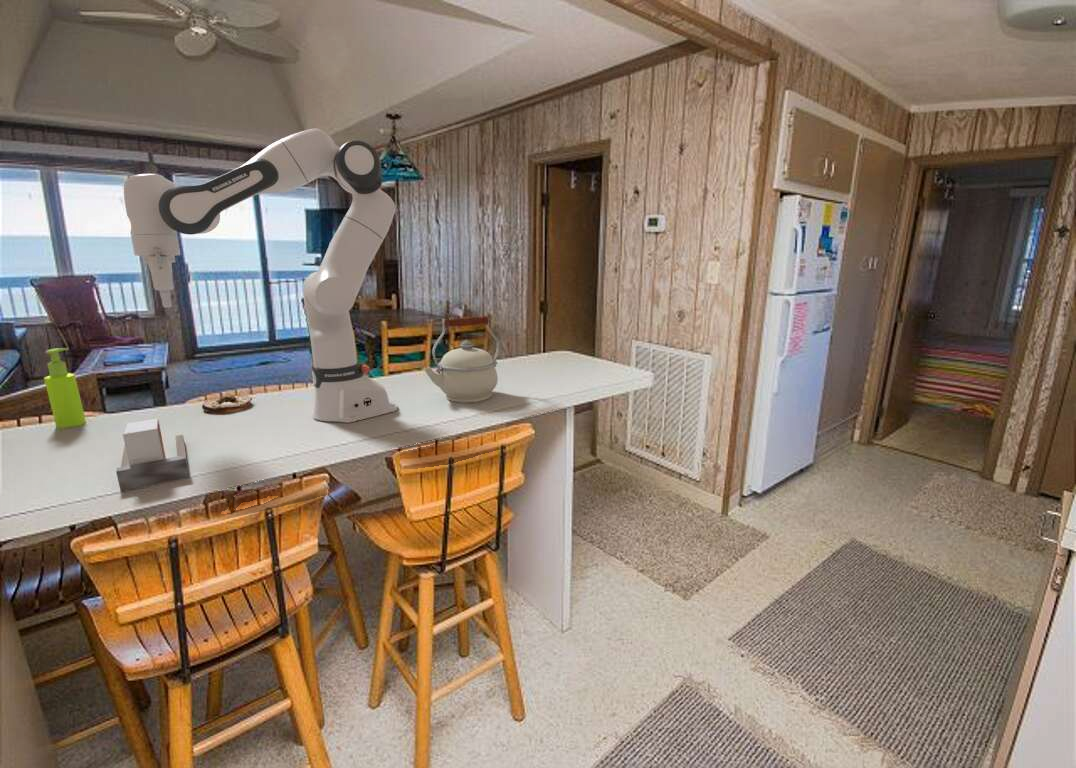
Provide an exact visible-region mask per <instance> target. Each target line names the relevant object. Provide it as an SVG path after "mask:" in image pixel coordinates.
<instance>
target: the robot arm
mask: <svg viewBox="0 0 1076 768" xmlns="http://www.w3.org/2000/svg"><path fill="white" fill-rule="evenodd" d="M324 176H326V177H328V178H329V180H331V181H332V182H333V183H335V184H336V185H337V186H338V187H339V189H341V190H342V191H343V192H344V193H346V194H348V195H349V196H352V201H351V204H350V207H349V209H348V210H347V212H346V214H345V216H344V217H343V219H342V220H341V223H340V224H339V226H338V228H337V230H336V232H335V233H334V235H333V236H332V239H331V240H330V241H329V244H328V247H327V249H326V252H325V254H324V256H323V258H322V261H321V263H320V265H319V267H318V270H317V271H314V272H312V273H310V274H309V275H307V277H306V278H305V280H304V282H303V284H302V295H303V303H304V310H305V315H306V316H305V317H306V320H307V327H308V333H309V337H310V346H311V347H310V348H311V353H312V363H313V365H312V366H311V370H312V371H311V374H312V375H311V376H312V383H313V386H314V387H315V388H314V391H315V392H314V393H315V394H314V395H315V396H314V407H313V413H312V418H313V419H315V420H317V421H321V422H340V423H346V424H347V423H348V424H349V423H354V422H356V421H357V420H358V421H361V420H365V419H369V418H373V417H379V416H381V415H384V414H389V413H394V412H396V411H397V410H398V405H397V403H396V402H395V401H394V400H392V399H390V398H389V397H388V392H387V391H386V388H385V387H384V386H383V384H381V383H379V382H377V381H376V380H374V379H373V378H371V377H370V376H367V375H366V374H368V373H369V372H371V367H370V366H369V365H367V364H363V363H361V362H358V361H357V353H356V351H357V349H356V339H355V332H354V329H353V324H352V320H351V316H350V310H351V309H352V308H353V306H354V304H355V302H356V298H357V296H358V294H359V292H360V289H361V287H362V286H363V282H364V281H365V278H366V275H367V272H368V269H370V268H369V267H370V265H371V264H372V261H373V260H374V258H375V256H376V255H377V253H378V250H379V249H380V247H381V245H382V244H383V242H384V240H385V238H386V236H387V234H388V232H389V231H390V228H391V225H392V223H393V219H394V217H395V213H396V204H395V202H394V200H393V199H392V198H391V196H389V194H388V193H386V192H385V191H383V190H382V189H381V187H382V185H383V182H382V180H383V179H382V178H383V177H382V162H381V159H380V156H379V154H378V152H377V151H376V149H375V148H374V147H373V146H372V145H371V144H369V143H368V142H365V141H362V140H357V139H356V140H349V141H347V142H345V143H343V144H342V145H341V146H338V145H337V144H336V143H335V141H334V140H333V139H332V137H331V136H330V135H329V134H328V133H327V132H326V131H324V130H322V129H320V128H316V127H315V128H310V129H305V130H302V131H299V132H295V133H292V134H289V135H287V136H285V137H283V138H280V139H279V140H277V141H274V142H273V143H271V144H269V145H268V146H266V147H265V148H264V149H262V150H261V151H259V152H258V153H257V154H255V155H254V156H253V157H251V158H250V159H249V160H248V161H246V162H245V163H243V164H242V165H241V166H239V167H237V168H235V169H233V170H231V171H228V172H227V173H224V174H222V175H220V176H217V177H215V178H213V179H211V180H209V181H207V182H205V183H201V184H197V185H179V184H177V183H175V182H173V181H171V180H169V179H167V178H166V177H164V176H163V175H161V174H158V173H140V174H134V175H132V176H131V175H130V176H128V177H127V178H126V179H125V180H124V182H123V183H124V184H123V199H124V208H125V212H126V215H127V218H128V220H129V222H130V238H131V243H132V248H133V253H134V256H139V257H140V256H141V259H142V263H143V264H147V265H148V268H149V269H148V270H149V271H150V274H151V279H152V285H153V286H152V287H153V289H154V290H155V291H158V292H159V296H160V298H161V303H162V308H166V309H167V308H172V307H173V304H172V298H171V297H172V296H171V294H172V293H171V291H173V290H174V282H173V281H174V280H173V268H172V265H173V263H176V257H175V256H181V249H180V244H179V237H178V233H180V234H184V235H198V234H199V235H200V234H201V235H203V234H207V233H210V232H212V231H213V230H215V228H217V226H218V225H219V223H220V220H221V213H222V212H224V211H225V210H228V209H229V208H231V207H234V206H235V205H238V204H239V203H242V202H243V201H245V200H247V199H249V198H252V197H255V196H257V195H258V196H259V195H262V194H270V193H271V194H284V193H287V192H290V191H291V192H292V191H293V190H296V189H299V188H301V187H303V186H306V185H307V184H309V183H312V182H313V181H314V180H316V179H319V178H321V177H324Z"/></svg>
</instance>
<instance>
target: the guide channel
mask: <svg viewBox="0 0 1076 768" xmlns="http://www.w3.org/2000/svg"><path fill="white" fill-rule="evenodd" d="M175 447H176V456H175V457H174V456H173V457H169V458H166V459H162V460H157V461H152V462H146V463H141V464H136V465H129V460H128V456H127V451H126V446H125V444H124V446H123V452H122V457H121V464H120V467H116V471H115V472H116V477H117V481H118V486H119V489H120V492H122V491H126V490H127V491H128V490H130V489H136V488H141V487H146V486H150V485H155V484H161V483H163V482H164V483H165V482H169V481H173V480H174V481H175V480H179V479H184V478H187V477H188V478H189V477H190V475H189V467H188V466H189V464H188V460H187V450H186V445H185V437H184V434H179V435H175Z"/></svg>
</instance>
